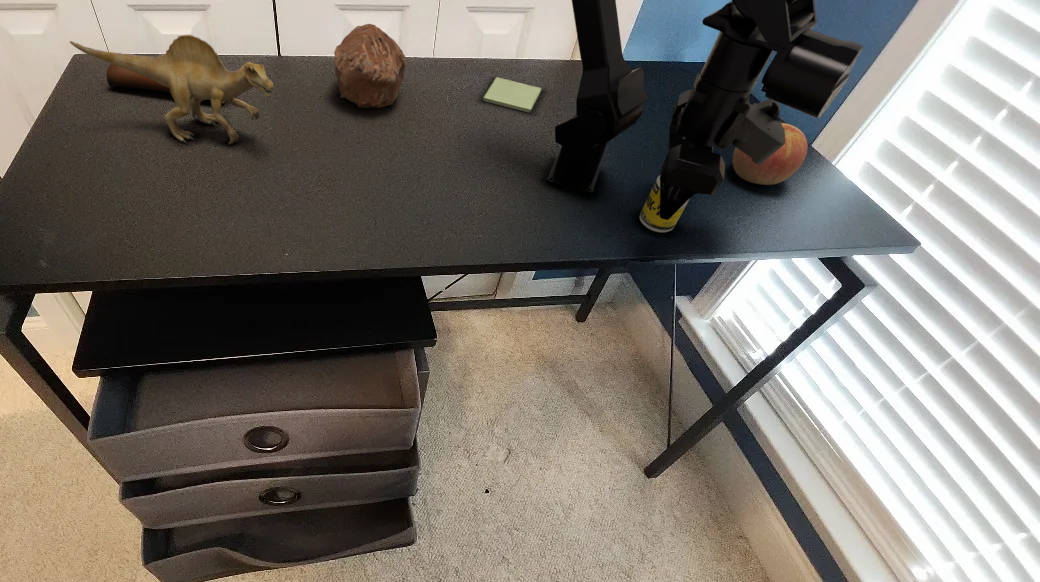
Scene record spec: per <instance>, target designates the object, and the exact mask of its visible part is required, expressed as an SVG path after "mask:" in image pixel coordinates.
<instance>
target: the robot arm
mask: <svg viewBox="0 0 1040 582" xmlns="http://www.w3.org/2000/svg"><path fill="white" fill-rule="evenodd" d="M571 5H572V12H573V19H574V25H575V32H576V37H577V44H578V49H579V57H580V63H581V70H582V71H581V76H580V80H579V84H578V89H577V93H576V97H575V110H576V112H575V114H574V115H572V116H570V117H569V118H566V120H563V121H562V122H561V123H559V124H557V125H556V126H555V128H554V135H555V136H554V139H555V140H554V141H555V143H556V144H558V145H560V146H561V147H560V150H559V153H558V156H557V157H556V158H555V159H554V162H553V164H552V167H551V169H550V171H549V174H548V177H547V178H546V182H547V184H550V185H553V186H558V187H560V188H565V189H567V190H571V191H575V192H579V193H582V194H585V195H592V194H593V192H594V189H595V186H596V182H597V180H598V176H599V174H600V168H599V166H600V163H601V161H602V158H603V156H604V153H605V150H606V147H607V145H608V143H610V142H611V141H612V140H614V139H615V138H616V137H617V136H619V135H621V134H622V133H623V132H625V131H627V130H628V129H629V128H631V127H632V126H634V125H635V124H636V123H637V122H638V120H639V119H640V117H641V116H642V114H643V112H644V103H645V102H646V101H648V99H649V98H648V96H647V94H646V92H645V87H644V78H645V77H644V76H645V75H644V74H645V73H644V68H643V67H642V66H641V67H637V68H636V69H633V70H632V68H631V67H630V65H629V64H628V63H627V61H626V60H625V58H624V55H623V48H622V40H621V31H620V24H619V17H618V9H617V1H616V0H571ZM817 19H818V18H817V9H816V1H815V0H730V1H729V2H727V3H725V4H724V6H723V7H721V8H719V9H717V10H715V11H713V12H711V13H710V14H708V15H706V16H705V17H704V18H702V21H701V22H702V25H703V26H705V27H708V28H711V29H713V30H716V31H719V33H718V35H717V37H716V39H715V41H714V44H713V45H712V47H711V49H710V50H711V51H710V52H709V54H708V56H707V59H706V61H705V63H704V65H703V67H702V69H701V71H700V73H697V74H696V75H695V79H694V80H693V84H692V89H688V90H686V91H684V92H682V93H680V94H679V95H678V98H677V100H676V102H675V105H674V107H673V109H672V115H671V118H670V124H669V133H668V134H669V137H668V152H667V154H666V156H665V158H664V161H663V164H662V166H661V169H660V174H659V175H660V218H662V219H665V220H669V219H670V218H671V217H672V216H673V215H674V214H675V213H676V212H677V211H678V210H679V209H680V208H681V207H682V206H683V205H684V204H685V203H686V202H687V201H688V200H689V201H690V200H691V198H692V197H693V196H695V195H699V194H701V195H708V196H713V195H716V194H717V192H718V191H719V189H720V188H721V186H722V184H723V183H724V180H725V172H726V163H725V161H724V158H723V157H722V154H720V153H716V152H714V146H716V147H717V148H718V149H722V150H726V151H728V150H729V149H730V147H731V146H732V145H733V146H734V147H735V148H738V149H739V150H741V151H742V152H743V153H745V154H746V155H748V156H749V157H751V158H752V161H753V162H754V163H756V164H758V165H761V164H762V163H763V162H765V161H766V160H767V159H768V158H769V157H770V156H772V155H773V154H774V153H775V152H776V151H777V150H779V149H780V148H781V147H782V146H783V145H784V144H785V130H784V128H783V126H782V123H783V122H782V121H781V120H778V118H779V116H780V114H781V105H784V106H786V107H789V108H791V109H794V110H796V111H798V112H801V113H804V114H806V115H808V116H811V117H813V118H816V119H819V118H821V116H822V115H823V114H824V113H825V112H826V110H827V109H828V108H829V107H830V105H831V104H832V103H833V101H834V100H835V99H836V97H837V96H838V94H839V93H840V92H841V90H842V89H843V87H844V86H845V84H846V83H847V81H848V80H849V78H850V77H851V74H850V73H851V71H852V69H853V68H854V66H855V64H856V62H857V60H858V57H859V56H860V54H861V53H862V51H863V49H864V45H863V44H860V43H858V42H855V41H852V40H846V39H845V40H843V39H839V38H836V37H833V36H831V35H828V34H825V33H822V32H819V31H817V30H813V28H814V27H816V26H817V24H818V20H817ZM774 52H775V55H774V57H773V58H772V60H771V61H770V58H771V57H772V55H773V53H774ZM769 61H770V63H769V65H768V67H767V68H766V70H765V71H764V69H765V67H766V65H767V64H768V62H769ZM763 71H764V74H763V76H762V78H761V84H763V86H762V88H761V92H763V93H765V95H764V96H765V98H766V99H765V100H763V101H760V102H758V103H756V102H753V104H752V103H751V102H750V96H751V93H752V92H753V90H754V88H755V86H756V84H757V82H758V80H759V79H760V77H761V75H762V73H763ZM780 104H781V105H780ZM777 120H778V121H777ZM689 201H688V202H689Z"/></svg>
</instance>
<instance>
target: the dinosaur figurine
mask: <svg viewBox="0 0 1040 582" xmlns="http://www.w3.org/2000/svg"><path fill="white" fill-rule="evenodd" d="M69 43H70V45H72V46H73V47H74V48H75V49H77V50H79V51H80V52H81V53H83V54H86V55H88V56H91V57H93V58H96V59H97V60H100V61H103V62H106V63H108V64H114V65H116V66H119V67H122V68H124V69H127V70H131V71H133V72H135V73H138V74H140V75H143V76H145V77H148V78H150V79H152V80H154V81H156V82H158V83H160V84H161V85H163V86H166V87H169V89H170V92H169V93H170V94H171V97H172V99H173V100H174V102H175V106H174V107H172V109H170V110H169V111H168V112H167V113H166V114H165V115H164V120H165V122H166V124H167V126H168V127H169V130H170V132H171V133H172V136H174V138H176V139H177V140H178V141H180V142H182V143H184V144H187V141H186V140H185V139H187V140H191V141H193V140H195V138H194V136H195V134H194V133H193V132H191V131H189V130H184V129H182V128H180V127H179V126H178V123H177V121H176V120H178V119H180V118H182V117H185V116H188V115H189V114H190V113H191V116H192V117H193V118H196V117H197V119H198V120H199V121H200V122H201V123H203V124H207V125H216V123H219V124H220V126H222V128H224V130H226V132H227V134H228V136H229V137H228V138H229V139H230V140H229V142H228V143H227V144H228V145H232V144H234V143H236V142H238V139H239V135H238V133H237V130H235V129H234V128H233V127H231V126H230V125H229V123H228V122H227V120H226V119H225V117H224V116H223V115H222V114H221V108H222V101H223V102H225V103H226V102H229V104H231V105H232V106H234V107H236V108H241V109H245V110H246V111H247V112H248V114H249V116H250V118H251V120H255V121H257V120H258V119H259V118H260V111H259V110H258V109H257V108H256V107H255V106H253V105H250V104H248V103H247V102H245V101H244V100H241V99H238V98H236V97H238V96H240V95H242V94H243V93H245V92H248V91H250V90H251V89H253V88H256V89H258V91H260V92H262V93H263V94H264V96H265V97H266V98H271V97H272V96H273V93H272V91H274V87H275V86H274V83H273V81H272V80H271V79H270V78H269V77H268V76H267V74H266V70H265V66H264V65H263V64H262V63H254V62H252V61H247V62H245V63H244V65H242V66H241V67H240V68H239V69H236V70H228V69H227V68H226V67H225V66H224V64H223V61H222V60H220V56H219V55H218V53H217V52H216V51H215V48H214V47H213V46H212V45H211V44H209V43H208V42H207V41H206V40H204V39H202V38H200V37H197V36H195V35H193V34H183V35H177V38H175V39H173V41H172V42H171V43H170V44H169V46H168V49H167V50H165V53H164V54H163V55H157V56H150V55H149V56H148V55H144V56H142V55H138V54H137V55H136V54H135V55H134V54H130V53H122V52H113V51H108V50H107V51H106V50H101V49H95V48H92V47H88V46H84V45H83V44H80V43H78V42H75V41H73V40H70V41H69ZM205 100H207V101H208V100H210V105H211V109H212V113H207V112H204V111H203V109H202V108H201V103H202V102H203V101H205Z"/></svg>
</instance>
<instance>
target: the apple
mask: <svg viewBox="0 0 1040 582" xmlns="http://www.w3.org/2000/svg"><path fill="white" fill-rule="evenodd" d="M782 126H783V128H784V130H785V144H784V145H783V146H782V147H781V148H780V149H779V150H777V151H776V152H775V153H774V154H773V155H772V156H770V157H769V158H768V159H767V160H766V161H765V162H763V163H762V164H761V165H758V164H756V163H754V162H753V161H752V158H751V157H749V156H748V155H746V154H745V153H743V152H742V151H741V150H739V149H738V148H736V147H735V148H734V150H733V154H732V167H733V170H734V172H735V174H736V175H737V176H738V177H739V178H741V179H743V180H744V181H747V183H752V184H755V185H762V186H763V185H764V186H771V185H777V184H779V183H782V182H784V181H786V180H788V179H789V178H790V177H792V176H793V175H794V174H795V173H797V171H798V170H799V169H800V168H801V166H802V165H803V163H804V161H805V160H806V157H807V154H808V149H809V148H808V140H807V137H806V136H805V133H803V131H802V130H801V129H800V128H798V127H797V126H794V125H792V124H789V123H784V122H782Z"/></svg>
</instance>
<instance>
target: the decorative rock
mask: <svg viewBox="0 0 1040 582" xmlns="http://www.w3.org/2000/svg"><path fill="white" fill-rule="evenodd" d="M333 54H334V67H335V68H334V74H335V75H334V76H335V78H336V80H337V83H338V89H339V92H340V99H343V98H345V99H346V100H348V101H349V102H352V103H353V104H355V105H356V106H357V107H358V108H365V109H367V108H368V109H369V108H383V107H387V106H391V105H393V104H394V102H395V101H396V99H397V98H398V96H399V93H400V89H401V86H402V82H403V79H404V74H405V73H404V72H405V68H406V66H407V58H406V55H405V54H404V52H403V50H402V49H401V48H400V46H399V44H398V43H397V42H396V40H394V39H393V38H392V37H390V36H389V35H388V34H387V32H385V31H383V30H382V28H380V27H378V26H377V25H376V24H372V23H365V24H363V25H356V27H354V28H353V29H351V31H350V32H349V33H348V34H347V35H346V36H345V37H344V38H343V39H342V41H341V42H340V44H338V45H337V46H336V47H335V49H334V52H333Z"/></svg>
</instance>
